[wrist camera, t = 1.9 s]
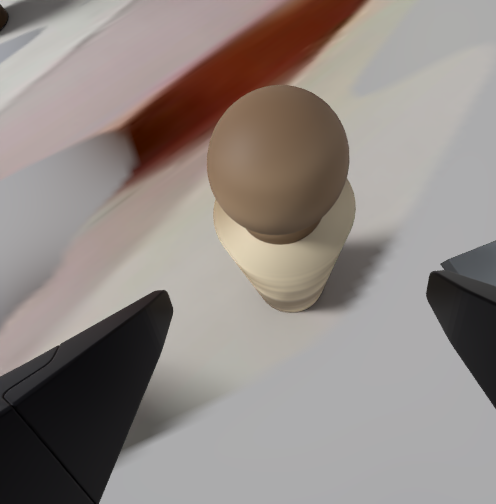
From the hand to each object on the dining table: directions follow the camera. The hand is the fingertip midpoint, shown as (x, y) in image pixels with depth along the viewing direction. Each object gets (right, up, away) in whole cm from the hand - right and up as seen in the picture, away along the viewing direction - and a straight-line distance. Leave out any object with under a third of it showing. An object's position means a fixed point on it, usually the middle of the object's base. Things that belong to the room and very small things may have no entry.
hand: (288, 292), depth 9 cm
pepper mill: (+2, -1, +10) cm, 11 cm away
